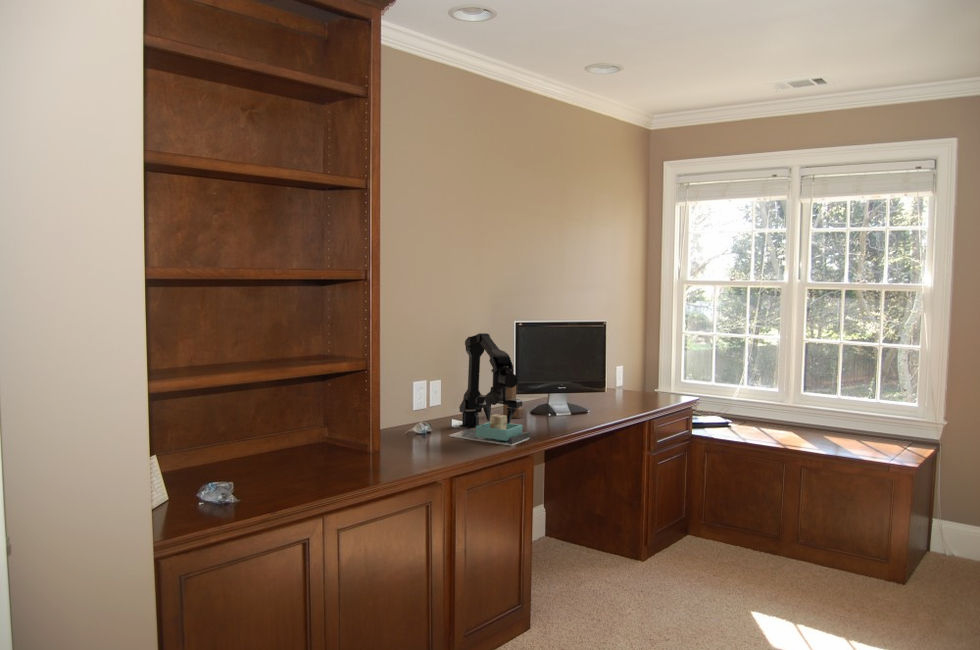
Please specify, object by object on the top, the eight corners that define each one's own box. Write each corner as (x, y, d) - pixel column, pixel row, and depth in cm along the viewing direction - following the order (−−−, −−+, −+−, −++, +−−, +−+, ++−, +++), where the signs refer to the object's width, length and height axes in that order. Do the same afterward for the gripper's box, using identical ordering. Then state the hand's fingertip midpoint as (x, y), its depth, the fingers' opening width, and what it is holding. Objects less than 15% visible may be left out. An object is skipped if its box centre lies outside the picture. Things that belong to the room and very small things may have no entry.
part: (489, 433, 309) (490, 416, 308) (495, 431, 313) (496, 414, 313) (500, 434, 306) (500, 417, 306) (506, 432, 311) (506, 415, 310)
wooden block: (523, 417, 360) (525, 379, 359) (518, 418, 356) (520, 380, 355) (507, 415, 365) (508, 377, 364) (502, 416, 361) (503, 378, 360)
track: (448, 436, 312) (449, 429, 312) (468, 430, 326) (468, 423, 326) (511, 445, 298) (511, 438, 298) (529, 438, 312) (529, 431, 312)
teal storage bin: (475, 437, 307) (476, 426, 307) (492, 431, 319) (492, 421, 319) (506, 442, 300) (506, 430, 300) (522, 436, 312) (522, 425, 312)
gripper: (469, 384, 306) (468, 422, 307) (510, 388, 297) (509, 428, 298) (483, 381, 316) (482, 418, 317) (523, 385, 307) (522, 423, 308)
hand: (498, 422), depth 309 cm, fingers open, 9 cm apart
